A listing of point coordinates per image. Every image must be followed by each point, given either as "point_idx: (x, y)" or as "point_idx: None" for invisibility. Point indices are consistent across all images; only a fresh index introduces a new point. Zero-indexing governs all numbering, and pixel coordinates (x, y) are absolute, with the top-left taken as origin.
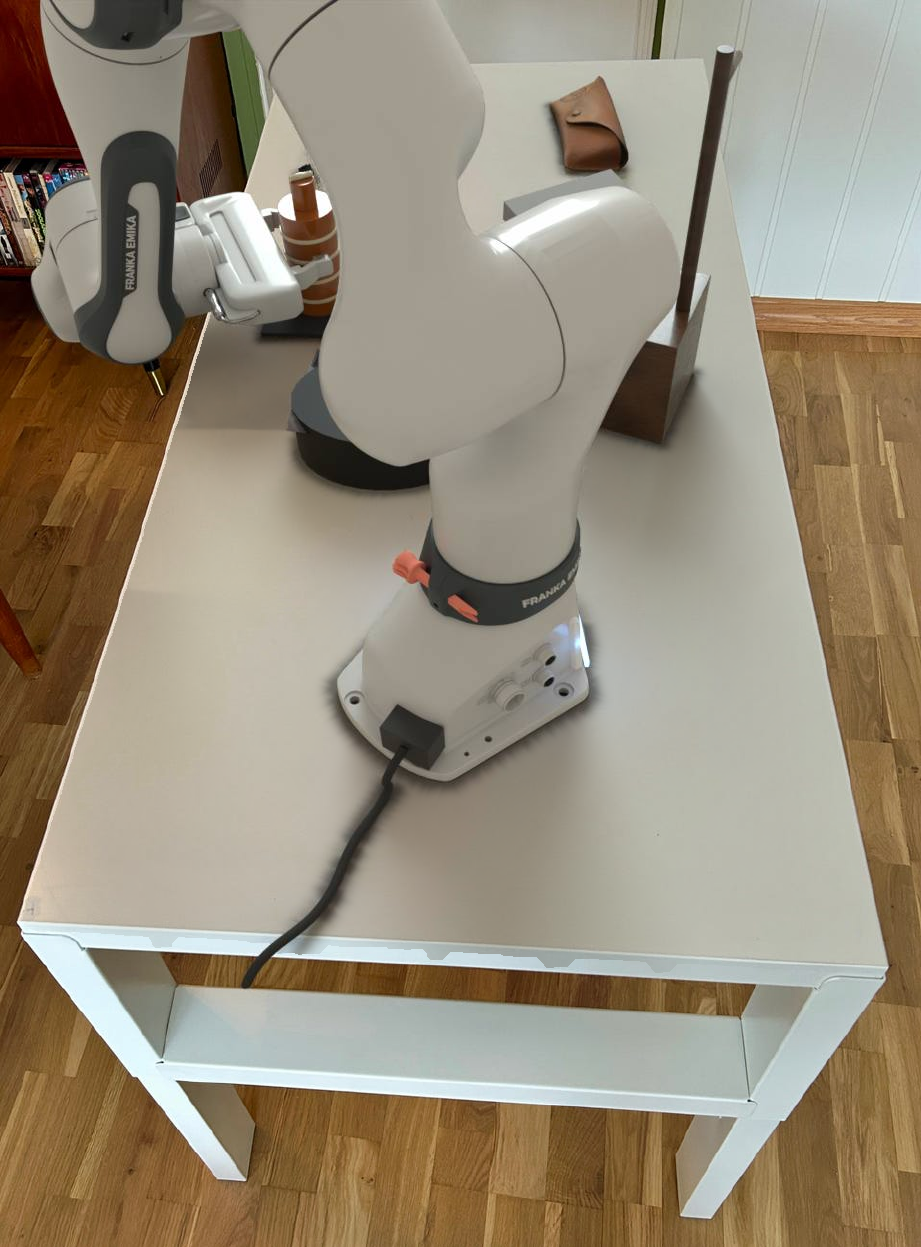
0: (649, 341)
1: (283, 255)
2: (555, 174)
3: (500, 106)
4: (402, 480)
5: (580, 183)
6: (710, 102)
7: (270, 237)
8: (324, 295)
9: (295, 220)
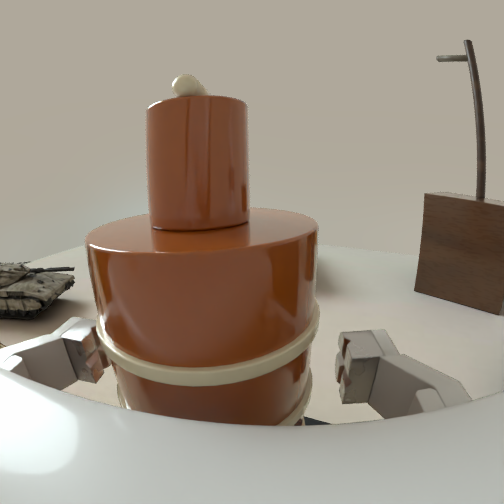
0: None
1: (366, 421)
2: None
3: (86, 259)
4: None
5: None
6: (475, 63)
7: (162, 424)
8: None
9: (293, 236)
